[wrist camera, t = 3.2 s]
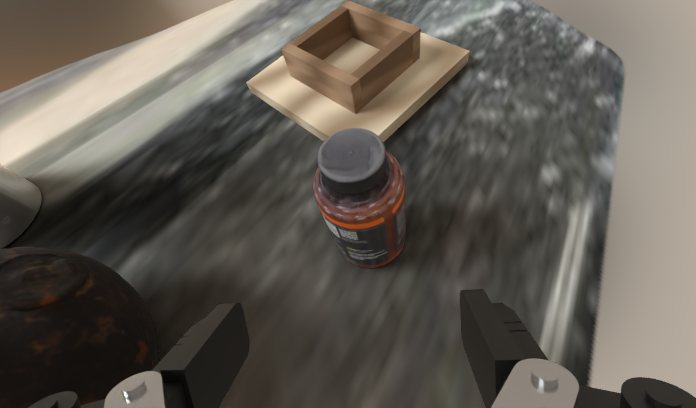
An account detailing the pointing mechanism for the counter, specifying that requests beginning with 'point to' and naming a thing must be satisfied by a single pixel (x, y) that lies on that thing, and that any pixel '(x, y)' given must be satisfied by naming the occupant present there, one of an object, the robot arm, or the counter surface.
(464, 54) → the collar board
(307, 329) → the counter surface
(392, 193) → the supplement bottle
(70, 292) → the rusty bud vase
